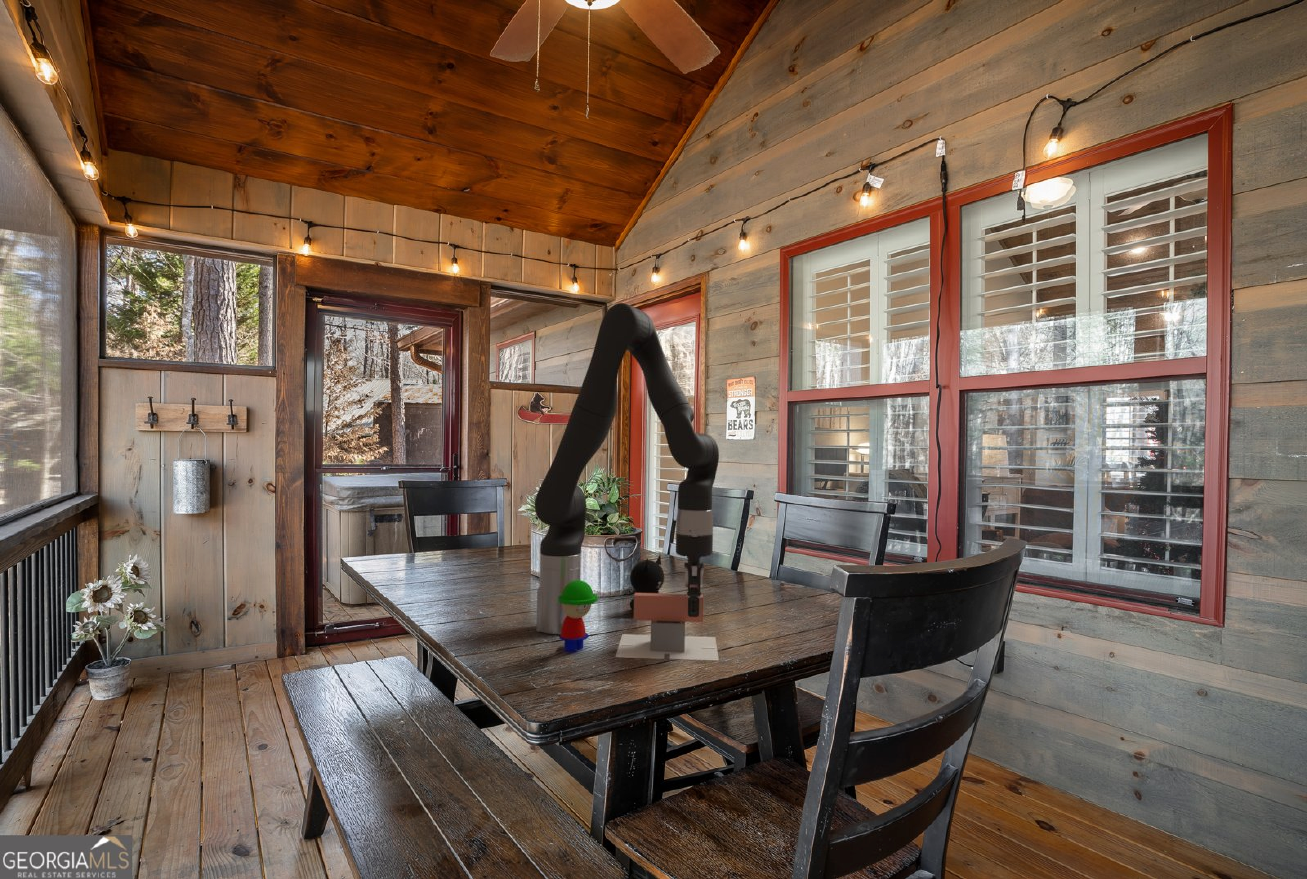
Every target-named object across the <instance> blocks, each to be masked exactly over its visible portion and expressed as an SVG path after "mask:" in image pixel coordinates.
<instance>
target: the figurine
mask: <svg viewBox="0 0 1307 879" xmlns="http://www.w3.org/2000/svg"><path fill="white" fill-rule="evenodd" d="M661 559H662V558H661V554H659V555H658V557H657V559H656V561H653V560H650V559H649V558H646V560H641V561H638V563H636V564H635V565H634V566H633V568H632V570H631V572H630V575H629V578H630V579H629V581H630V584H631V586H632V588H633V589H634V594H635V593H660V592H659V590H660V589H661V588H662V587H663V585H664V582H665V571H664V570H663V568H662V560H661ZM629 608H630V609H631V610H632V611H633V612H634V597H633V598H632V599H630V601H629Z"/></svg>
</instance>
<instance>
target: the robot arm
mask: <svg viewBox="0 0 1307 879" xmlns="http://www.w3.org/2000/svg"><path fill="white" fill-rule="evenodd" d="M654 324H655V323H654V322H653V320H652V318H651V316H649V314H647V313H646V312H645V311H643V310H640V308H639V309H638V308H637V307H635V306H632V305H630V304H627V303H624V302H618V303H615V304H613V305H612V306H610V307H609V309H607V311H606V312H605V314H604V316H603V318H602V320H601V323H600V326H599V328H598V329H599V330H598V331H597V332H598V333H597V336H596V341H595V344H594V348H593V352H592V355H591V358H590V362H589V365H588V367H587V371H586V373H585V375H584V378H583V382H582V385H581V387H580V389H579V390H580V391H579V393H578V394H577V397H576V399H575V401H574V405H573V407H572V410H571V412H570V416H569V418H568V421H567V423H566V427H565V429H564V432H563V435H562V438H561V440H560V442H559V444H558V448H557V451H556V452H555V456H554V458H553V460H552V462H551V465H550V467H549V468H548V470H547V473H546V475H545V477H544V478H543V481H542V483H541V485H540V487H539V489H538V491H537V492H536V493H537V494H536V496H535V499H534V511H535V514H536V517H537V518H538V520H540V522H542V524H543V523H544V524H545V525H548V530H547V532H546V535H545V536H544V537H543V538H542V539H541V541H540V544H539V546H540V547H539V587H538V588H537V590H536V629H535V630H536V632H540V633H545V634H548V635H560V634H561V629H562V624H563V622H564V619H565V618H566V616H567V615H566V614H565V612H564V611H563V608H562V603H560V602H559V601H558V596H559V595H561V594H562V592H563V589H564V588H565V586H566V585H567V584H568V583H570V582H572V581H575V580H581V573H582V572H581V570H582V568H581V567H582V565H581V564H582V563H581V562H582V545H583V542H584V540H585V534H586V522H587V521H586V520H587V500H586V495H585V492H584V491H583V489H582V488H581V487H580V485H578V483H579V479H580V478H581V475H582V473H583V471H584V470H585V469H586V468H585V467H586V466H587V465H588V463H589V462H590V461H591V460H592V458H593V457H594V455H596V453H597V452H598V450H599V449H600V448H601V446H602V445H603V444H604V442H605V440H606V438H607V437H608V435H609V432H610V429H611V427H612V424H613V421H614V418H615V417H616V414H617V409H618V376H619V370H620V368H621V365H622V362H623V359H624V356H625V354H626V352H627V351H628V352H629V353H630V354H631V355H632V357H633V358H634V359H635V360H636V362H637V363H638V365H639V368H640V369H641V371H642V374H643V376H644V379H645V385H646V391H647V395H648V398H649V402H650V404H651V406H652V407H653V410H654V411H655V414H656V416H657V417H658V419H659V420H660V421H659V422H660V423H661V424H662V426H663V429H664V434H665V438H666V442H667V446H668V450H669V451H670V455H671V456H672V458H673V460H674V461H675V462H676V464H678V465H680V467H682V468H686V469H687V473H686V478H685V479H683V480H682V481H681V482H680V483H679V484H678V488H677V510H676V511H677V513H676V523H675V525H676V527H675V553H676V554H677V555H678V556H681V557H686V558H687V562H686V561H685V562H683V566H684V567H683V569H684V570H683V571H684V573H683V574H684V575H685V576H684V581H685V583H684V586H685V587H686V588H687V592H686V594H687V596H688V616H689V617H698V616H699V598H700V596H701V595H702V592H701V588H702V587H703V583H704V582H703V577H704V576H703V575H704V572H705V565H704V562H701V558H702V557H703V558H704V557H710V556H712V555H713V548H714V547H713V545H714V544H713V543H714V537H713V536H714V517H713V487H714V484H715V483H714V482H715V480H716V475H717V471H718V466H719V460H720V452H719V451H720V450H719V446H718V443H717V441H716V440H715V439H714V437H713V436H712V435H710V434H706V433H696V431H695V429H694V426H693V424H692V423H693V422H694V420H695V413H694V409H693V408H692V406H691V404H690V402H689V400H688V398H687V397H686V395H685V393H684V391H683V390H682V387H680V384H679V382H678V381H677V378H676V377H675V375H674V373H673V371H672V369H671V366H670V364H669V362H668V359H667V357H666V354H665V352H664V350H663V347H662V344H661V342H660V339H659V335H658V332H657V330H656V326H655V325H654ZM581 581H582V580H581Z"/></svg>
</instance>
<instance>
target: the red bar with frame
mask: <svg viewBox="0 0 1307 879" xmlns="http://www.w3.org/2000/svg"><path fill="white" fill-rule="evenodd" d="M633 598H634V611H633V621H648V622H649V621H650V635H651V643H650V651H657V652H685V636H686V623H703V622H704V594H701V596H700V598H699V616H698V617H689V616H688V596H687V593H660V592H659V593H635V592H634V595H633ZM660 621H677V623H659V622H660Z"/></svg>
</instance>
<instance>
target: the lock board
mask: <svg viewBox="0 0 1307 879" xmlns="http://www.w3.org/2000/svg"><path fill="white" fill-rule="evenodd" d="M659 623H677V621H660V622H659ZM650 643H651V634H623V633H622V635H621V638H620V641H619V644H618V647H617V650H616V654H615V656H614V657H615V658H626V659H627V658H628V659H629V658H630V659H632V658H634V659H655V660H656V659H657V660H659V659H660V660H663V659H664V660H691V661H692V660H693V661H718V662H719V661H720V660H719V654H718V647H717V640H716V636H694V635H693V636H692V635H691V636H690V635H689V636H687V635H685V652H657V651H650Z"/></svg>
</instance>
